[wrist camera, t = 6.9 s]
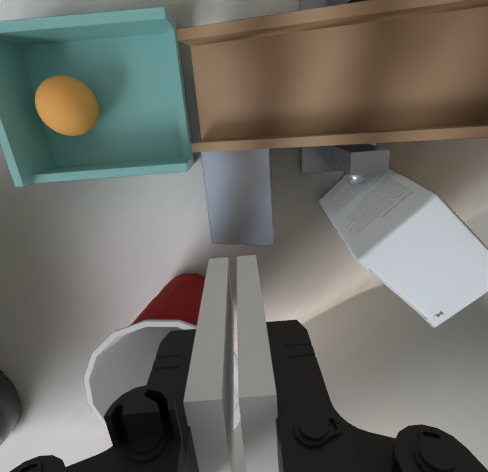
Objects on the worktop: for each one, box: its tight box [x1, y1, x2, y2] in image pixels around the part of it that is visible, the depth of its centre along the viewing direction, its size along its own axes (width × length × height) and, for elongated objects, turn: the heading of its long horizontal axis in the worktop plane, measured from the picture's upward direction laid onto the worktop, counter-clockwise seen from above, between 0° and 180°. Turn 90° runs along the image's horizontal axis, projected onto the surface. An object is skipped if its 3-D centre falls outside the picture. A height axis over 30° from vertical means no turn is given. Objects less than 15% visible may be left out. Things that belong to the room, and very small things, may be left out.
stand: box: [300, 0, 390, 184], centre depth 21 cm, size 6×13×7 cm, turn 4°
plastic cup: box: [84, 274, 241, 430], centre depth 26 cm, size 11×11×12 cm
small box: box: [319, 168, 488, 327], centre depth 23 cm, size 8×6×10 cm
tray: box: [0, 7, 194, 187], centre depth 22 cm, size 12×10×5 cm
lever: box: [176, 0, 488, 245], centre depth 20 cm, size 22×15×4 cm
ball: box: [35, 75, 99, 136], centre depth 23 cm, size 4×4×4 cm
